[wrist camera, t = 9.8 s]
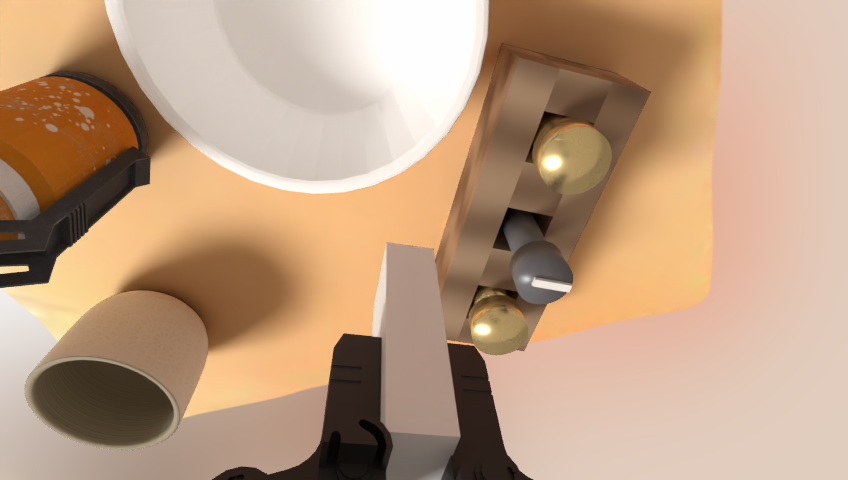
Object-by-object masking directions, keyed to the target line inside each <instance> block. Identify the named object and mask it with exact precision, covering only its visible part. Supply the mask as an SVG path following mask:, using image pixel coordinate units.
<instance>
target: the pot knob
mask: <svg viewBox="0 0 848 480" xmlns="http://www.w3.org/2000/svg"><path fill="white" fill-rule="evenodd" d="M501 226H502V228H503V231H504V234H505V236H506V239H507V241H508V244H509V247H510V249H511V252H512V254H513V256H512V258H511V261H510V271H511V274H512V277H513V280H514V283H515V285H516V288H517V291H518V293H519V295H520V296H521V297H522V298H523V299H524V300H525V301H527V302H529V303H533V304H547V303H551V302H554V301H556V300H558V299H560V298H561V297H562V296H564V295H565V294H566V293H567V292H568V293H569V292H570V290H571V288H572V282H573V274H572V271H571V269H570V267H569V265H568V264H567V262H566V260H565V258H564V256H563V255H562V253H561V251H560V249H559V248H558V247H557V246H556V245H554V244H553V243H550V242H547V241H546V240H545V238H544V236H543V234H542V232H541V230H540V228H539V227H538V225H537V223H536V221H535V219H534V217H533V215H532V213H531V212H528V211H524V210H519V209H514V208H509V207H508V208H507V210H506V213H505V216H504V218H503V221H502V224H501Z"/></svg>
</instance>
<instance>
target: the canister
mask: <svg viewBox="0 0 848 480" xmlns="http://www.w3.org/2000/svg"><path fill="white" fill-rule="evenodd" d="M147 152H148V135H147V131H146V127H145V125H144V122H143V120H142V118H141V116H140V115H139V113H138V111H137V110H136V108H135V107H134V106H133V104H132V103H131V102H130V101H129V100H128V99H127V98H126V97H125V96H124V95H123V94H122V93H121V92H119V91H118V90H117V89H116V88H114V87H113V86H111V85H110V84H108V83H106V82H104V81H102V80H100V79H98V78H96V77H93V76H91V75H88V74H84V73H79V72H69V71H66V72H57V73H53V74H49V75H46V76H44V77H41V78H39V79H35V80H32V81H29V82H26V83H23V84H20V85H18V86H15V87H12V88H9V89H6V90H3V91H0V267H3V266H28V267H29V271H26V272H17V273H7V274H0V288H5V287H14V286H24V285H34V284H43V283H48V282H49V279H50V276H51V273H52V270H53V267H54V264H55V261H56V258H57V257H58V256H59V255H60V254H61V253H62V252H63V251H64V250H66V249H67V248H68V247H71V246H72V245H73V243H76V242H77V240H79V239H80V238H81V236H84V235H85V233H87V232H88V229H89V228H90V227H91V226H93V225H94V224H95V223H96V222H97V221H98V220H99V219H100V218H101V217H103V216H104V215H105V214H106V213H107V212H108V211H109V210H110V209H112V208H113V207H114V206H115V205H116V204H117V203H118V202H119V201H121V200H122V199H123V198H124V197H125V196H126V195H127V194H128V193H130V192H131V191H132V190H133V189H134V188H135V187H138V186H143V185H147V184H150V157H149V156H148V155H147Z"/></svg>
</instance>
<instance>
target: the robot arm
mask: <svg viewBox="0 0 848 480" xmlns="http://www.w3.org/2000/svg"><path fill="white" fill-rule="evenodd" d="M491 392H492V391H491V387H490V382H489V381H488V373H487V369H486V364H485V361H484V360H483V358H482V356H481V355H480V354H479V352H478V351H477V349H476V348H475V346H470V345H461V344H451V343H447V339H446V332H445V325H444V318H443V311H442V304H441V298H440V291H439V284H438V277H437V270H436V263H435V256H434V249H431V248H424V247H417V246H410V245H402V244H395V243H388V242H387V243H386V248H385V253H384V258H383V263H382V268H381V273H380V278H379V283H378V288H377V293H376V298H375V303H374V310H373V335H372V336H363V335H354V334H343V336H342V337H341V338H340V340H339V341H338V343H337V344H336V345H335V347H334V351H333V358H332V364H331V371H330V378H329V385H328V392H327V400H326V407H325V415H324V422H323V430H322V437H321V441H320V444H319V446H318V448H317V450H316V451H315V452H314V454H312V456H311V457H310V458H309V459H307V460H306V461H304V462H303V463H302V464H300V465H298V466H296V467H293V468H290V469H287V470H284V471H280V472H276V473H273V474H269V475H267V474H266V473H264V472H262V471H260V470H259V469H257V468H252V467H238V468H234V469H230V470H226V471H225V472H223V473H221V474H220V475H218V476H217V477H215V478H214V479H212V480H533V479H531V478H529V477H527V476H526V475H524V474H523V473H522V472H521V471H519V469H518V467H517V465H516V464H515V463H514V462H513V461H512V460H511V458H510V457H509V456H508V455H507V453H506V450H505V447H504V444H503V440H502V435H501V431H500V426H499V422H498V417H497V413H496V409H495V405H494V400H493V396H492V395H491Z"/></svg>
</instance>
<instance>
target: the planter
mask: <svg viewBox="0 0 848 480" xmlns="http://www.w3.org/2000/svg"><path fill="white" fill-rule="evenodd" d="M207 354H208V336H207V332H206V329H205V326H204V324H203V322H202V320H201V319H200V317H199V316H198V315H197V314H196V312H195V311H194V310H193V309H191V308H190V307H189V306H188V305H186V304H185V303H184V302H182V301H180V300H179V299H177V298H174V297H172V296H170V295H167V294H164V293H160V292H155V291H146V290H137V291H128V292H124V293H120V294H117V295H114V296H111V297H109V298H107V299H105V300H103V301H101V302H100V303H98V304H97V305H95V306H94V307H92V308H91V309H90V310H89V311H88V312H86V313H85V314H84V315H83V316H82V317H81V318H80V319H79V320H78V321H77V322H76V323H75V324H74V325H73V326H72V327H71V328H70V329H69V330H68V332H67V333H66V334H65V335H64V336H63V337H62V338H61V339H60V341H59V342H58V343H57V344H56V345H55V346H54V347H53V348H52V350H51V351H50V352H49V353H48V354H47V355H46V356H45V357H44V358H43V359H42V361H41V362H40V363H39V364H38V365H37V366H36V368H35V369H34V370H33V371H32V372H31V373H30V375H29V376H28V378H27V380H26V384H25V397H26V400H27V403H28V405H29V407H30V408H31V410H32V411H33V413H34V414H35V415H36V416H37V417H38V418H39V419H40V420H41V421H42V422H43V423H44V424H45V425H47V426H48V427H49V428H51V429H52V430H54V431H56V432H57V433H59V434H61V435H63V436H65V437H67V438H69V439H71V440H74V441H76V442H79V443H83V444H85V445H89V446H93V447H98V448H103V449H111V450H135V449H142V448H147V447H151V446H154V445H156V444H159V443H161V442H163V441H165V440H166V439H167V438H169V437H170V436H171V435H172V434H173V433H174V432H175V431H176V429H177V428H178V426H179V424H180V422H181V420H182V418H183V415H184V413H185V411H186V408H187V406H188V404H189V401H190V399H191V397H192V395H193V393H194V390H195V388H196V386H197V384H198V381H199V379H200V376H201V374H202V371H203V369H204V366H205V362H206V358H207Z"/></svg>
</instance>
